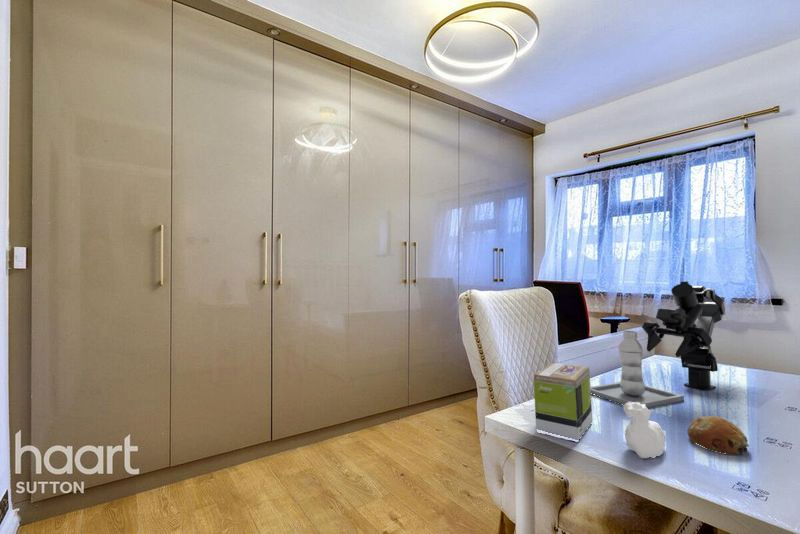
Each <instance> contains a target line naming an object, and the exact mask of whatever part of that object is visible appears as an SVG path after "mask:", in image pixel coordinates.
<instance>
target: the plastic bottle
mask: <svg viewBox="0 0 800 534" xmlns="http://www.w3.org/2000/svg"><path fill="white" fill-rule="evenodd" d="M622 338H623V339H622V340H621V341H620V343H619V344H618V353H619V357H620V358H619V359H620V364H621V365H620V366H621V375H620V381H619V382H620V387H621V390H622V392H623V393H625V394H628V395H632V396H641V395H643V394H644V393H645V386H646V384H645V382H644V376H643V370H642V369H643V368H642V365H643V362H642V361H643V352H644V348H643V345H641V343H640V342H639V340H638V339H637V338H638V331H635V330H623V331H622Z"/></svg>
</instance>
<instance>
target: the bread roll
mask: <svg viewBox="0 0 800 534" xmlns="http://www.w3.org/2000/svg"><path fill="white" fill-rule="evenodd" d="M687 436H688V438H689V440H690V442H692V443H693V442H694V443H697V444H699V445H701V446H703V447H705V448H707V449H710V450H713V451H712V452H714V451H717V452H721V453H720V454H722V453H726V454H725V455H728V454H734V455H733V456H740V454H741V455H744V454H745V453H746V452H748V447H750V444H748V438H747V436H745V434H744V432H743V431H742V430H741V429H740V428H739V427H738V426H737V425H736V424H734V423H733V422H732V421H730V420H728V419H726V418H723V417H720V416H716V415H710V416H708V415H707V416H700V417H697V418H695V419H694V420H692V421H691V423H689V425H688V428H687ZM694 443H693V444H694ZM705 448H704V449H705ZM707 449H706V450H707ZM710 450H709V451H710ZM717 452H716V453H717ZM735 454H737V455H735ZM738 454H739V455H738Z"/></svg>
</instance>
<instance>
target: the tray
mask: <svg viewBox="0 0 800 534" xmlns="http://www.w3.org/2000/svg"><path fill="white" fill-rule="evenodd" d="M590 387H591V393H592V394H595V395H598V396H600V397H603V398H605V399H608V400H611V401H613V402H612V403H614V402H616V403H615V404H617V403H619V404H618V405H620V404H623V405H625V404H626V403H628V402H635V403H636V402H639V403H640V404H641V405H642V404H646V407H647V408H649V409H653V408H657V407H663V406H667V405H672V404H676V403H677V404H678V403H682V402H684V401H685V396H684V395H682V394H679V393H674V392H671V391H667V390H664V389H660V388H658V387H652V386H649V385H645V393H644V394H643V395H641V396H632V395H628V394H625V393H623V392H622V390H621V387H620V381H617V382H612V383H606V384H600V385H593V386H590ZM605 399H604V400H605ZM608 400H607V401H608ZM611 401H610V402H611ZM623 405H622V406H623ZM652 407H653V408H652Z"/></svg>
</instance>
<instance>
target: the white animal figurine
mask: <svg viewBox="0 0 800 534" xmlns="http://www.w3.org/2000/svg"><path fill="white" fill-rule="evenodd" d="M622 406H623V405H622ZM622 408H623V412H624V413H625V415H626V416H627V418H628V419H630V418H631V420H630V422H629V424H627V425H626V428H625V430H624V432H625V433H624V438H625V442H626V446H627V447H628V449H630V450H631V451H633V452H635V453H636V454H637V456H638V457H639V458H641V459H650V458H649V457H655V456H658V457H660V456H661V455H663V453H664V448H665V446H666V434H665V432H664V431H663V429H662V427H661V426H660V424H659V423H658V422H656V421H654V420H653V421H652V420H649V419H650V417H651V416H652V412H651V410H650V408H649V409H648V408H647V407H646V404H642V405H641V404H640V403H639V402H636V403H635V402H628V403H626V404H625V405H624V406H623V407H622Z"/></svg>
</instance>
